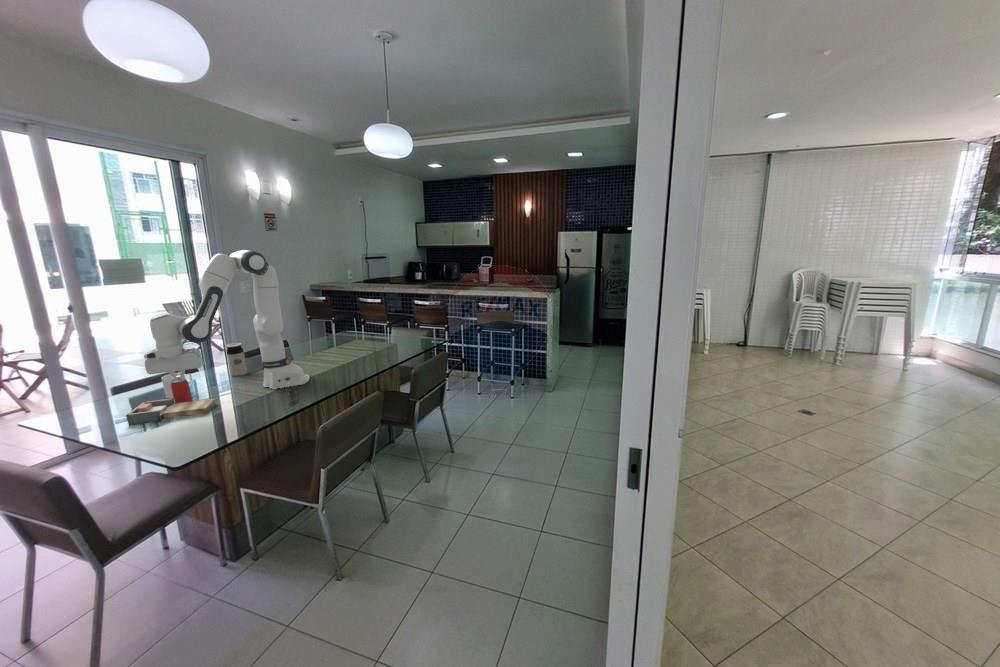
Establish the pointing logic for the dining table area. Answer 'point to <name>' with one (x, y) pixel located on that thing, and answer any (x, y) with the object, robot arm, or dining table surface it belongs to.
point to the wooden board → (189, 409)
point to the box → (148, 413)
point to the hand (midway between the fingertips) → (179, 379)
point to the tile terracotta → (145, 407)
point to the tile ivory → (158, 408)
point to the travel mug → (236, 359)
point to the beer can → (181, 391)
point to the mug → (167, 384)
